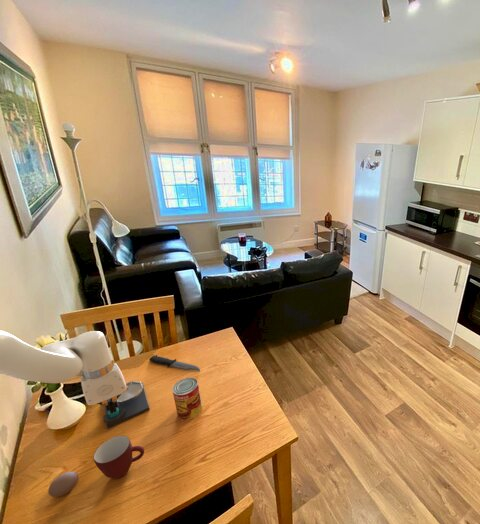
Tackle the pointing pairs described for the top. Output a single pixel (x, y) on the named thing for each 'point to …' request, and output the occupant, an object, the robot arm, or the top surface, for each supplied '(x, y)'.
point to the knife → (172, 363)
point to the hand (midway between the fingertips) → (113, 409)
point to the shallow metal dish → (130, 392)
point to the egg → (63, 484)
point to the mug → (116, 456)
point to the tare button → (113, 413)
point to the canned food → (187, 398)
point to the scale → (128, 410)
